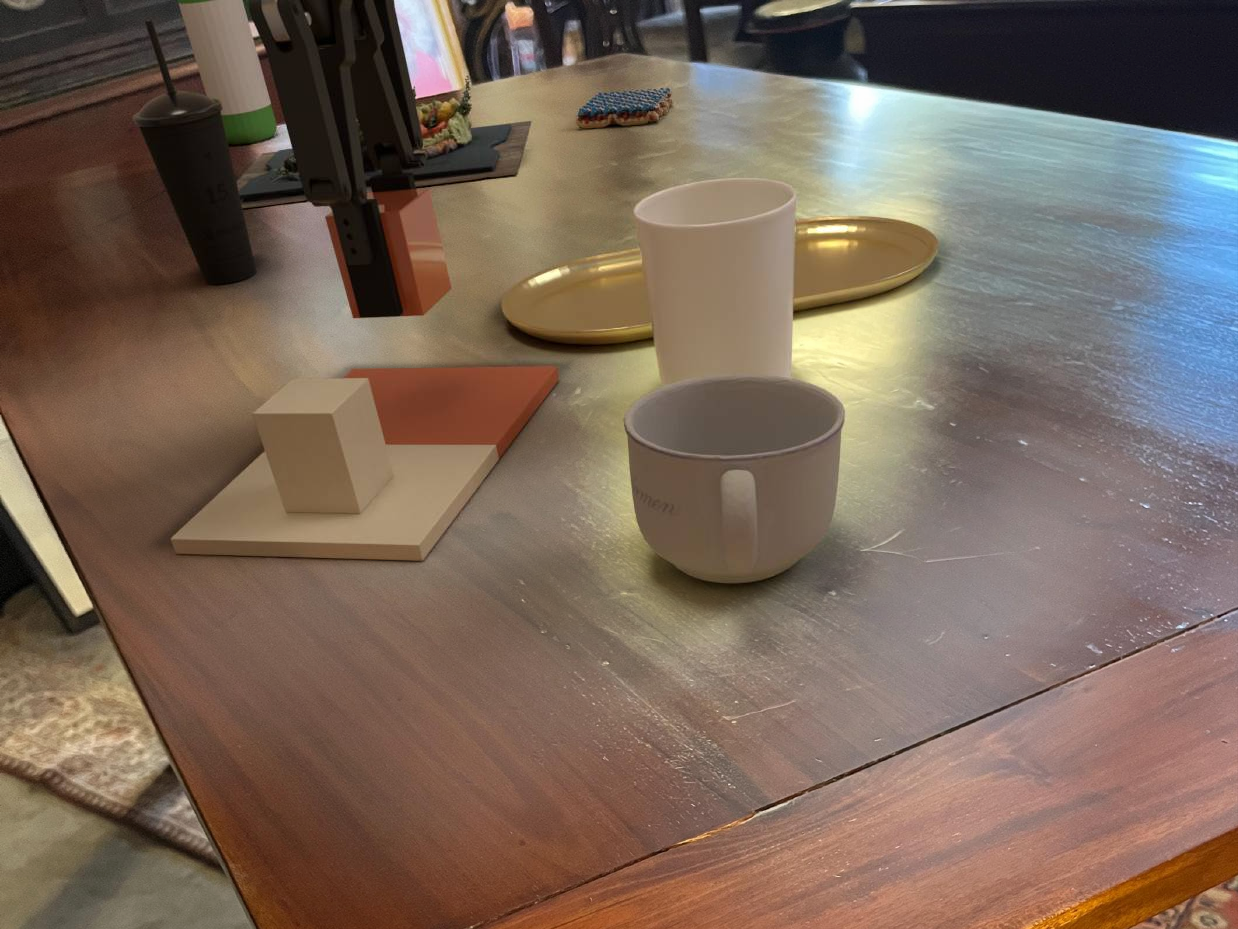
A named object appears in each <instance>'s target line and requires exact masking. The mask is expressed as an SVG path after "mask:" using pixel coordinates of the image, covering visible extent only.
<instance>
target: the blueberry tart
mask: <svg viewBox="0 0 1238 929" xmlns="http://www.w3.org/2000/svg"><path fill="white" fill-rule="evenodd" d="M672 96H673V91H672V89H670V87H666V88H665V90H664V87H660V88H659V89H658V90H657V89H656V88H653V89H652V90H651V88H648V89H647V90H644V89H640V91H639V89H635V90H634V91H631V90H628V91H626V90H623V91H621V92H619V91H615V93H614V91H610V93H607V92H603V93H602V92H598V93H597V94H595V95H594V96H593V97H592V98H591V99H589V100H588V102H585V104H584V105H583V106H582V107H581V108H578V111H577V118H576V119H575V120H574V123H575V124H576V125H577V126H578V127H580V128H583V129H595V128H605V127H608V126H609V125H611V124H612V125H620V126H622V127H623V126H624V127H625V126H636V125H637V126H639V125H645V124H647V123H648V122H659V120H660V117H663V115H666V114H669V110H670V107H673V106H674V99H673V98H672Z"/></svg>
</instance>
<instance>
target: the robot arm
mask: <svg viewBox="0 0 1238 929" xmlns="http://www.w3.org/2000/svg"><path fill="white" fill-rule="evenodd" d="M248 12H249V14H250V17H251V20H252V23H253V24H254V27H255V28H256V32H257V34H258V36H259V38H260V40H261V43H262V45H263V47H264V50H265V52H266V56H267V60H268V63H269V68H270V70H271V74H272V78H273V82H274V85H275V86H274V87H275V90H276V93H277V97H278V101H279V104H280V108H281V113H282V115H283V119H284V123H285V127H286V131H287V134H288V138H289V141H290V145H291V149H293V153H294V157H295V161H296V164H297V168H298V172H299V176H300V179H301V183H302V187H303V190H304V194H305V197H306V199H307V200H306V201H307V202H308V203H311V204H312V206H313V207H315V208H319V207H329V208H330V209H331V212H332V213H333V216H334V220H335V224H336V228H337V232H338V235H339V239H340V243H341V247H342V251H343V254H344V258H345V262H346V266H347V270H348V273H349V277H350V281H351V285H352V289H353V293H354V296H355V300H356V304H357V308H358V312H359V315H360V318H359V319H370V318H369V317H377V318H397V317H398V318H399V316H400V315H401V314H402V313H403V309H402V305H401V301H400V296H399V292H398V288H397V284H396V280H395V276H394V271H393V267H392V263H391V259H390V255H389V251H388V246H387V242H386V238H385V234H384V230H383V226H382V221H381V217H380V212H379V208H378V203H377V199H367V190H366V183H365V175H364V168H363V161H362V154H361V147H360V139H359V132H358V125H357V122H358V124H359V126H360V129H361V132H362V135H363V138H364V140H365V143H366V146H367V149H368V152H369V155H370V158H371V160H372V163H373V166H374V168H375V170H376V171H378V172H380V171H382V175H373V176H372V177H370V178H369V181H370V185H371V189H372V192H382V191H396V190H410V189H417V187H416V186H415V182H414V177H413V173H411V171H410V170H411V169H424V168H425V166H426V156H425V153H414V151H416V150H422V148H423V137H422V132H421V127H420V123H419V118H418V113H417V109H416V107H417V103H416V104H415V99H416V98H415V99H414V95H413V90H412V89H413V84H412V81H411V76H410V72H409V68H408V67H409V66H408V62H407V58H406V53H405V49H404V48H405V47H404V44H403V39H402V35H401V30H400V25H399V20H398V16H397V11H396V6H395V0H248ZM400 317H401V316H400Z"/></svg>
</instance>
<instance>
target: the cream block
mask: <svg viewBox="0 0 1238 929" xmlns="http://www.w3.org/2000/svg"><path fill="white" fill-rule="evenodd" d="M252 417H253V419H254V423H255V426H256V429H257V431H258V435H259V437H260V440H261V443H262V445H263V449H264V451H265V452H266V455H267V458H268V461H269V464H270V467H271V470H272V473H273V476H274V479H275V482H276V485H277V488H278V491H279V494H280V497H281V500H282V503H283V506H284V509H285V512H298V513H353V514H361V513H362V512H363V511H364V509H365V508H366V507H367V506H368V505H369V504H370V503H371V501H372V500H373V499H374V498H375V497H376V496H377V495H378V493H379V492H380V491H381V490H382V489H383V488H384V486H385V485H386V484H387V483H388V482H389V481H390V480H391V478H392V477H393V476H394V475H393V471H392V467H391V463H390V459H389V455H388V452H387V448H386V444H385V440H384V436H383V433H382V429H381V425H380V421H379V417H378V414H377V410H376V406H375V402H374V398H373V395H372V391H371V387H370V383H369V379H368V378H344V377H343V378H342V377H341V378H334V377H333V378H291V380H289V381H288V382H287V383H286V384H285V385H283V386H282V387H281V388H280V389H279V390H278V391H277V392H275V393H274V394H273V395H272V396H270V398H268V399H267V400H266V401H264V403H263V404H262V405H261V406H259V407H258V408H257V409H256V410H255V411H253V412H252Z"/></svg>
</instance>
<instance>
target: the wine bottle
mask: <svg viewBox="0 0 1238 929" xmlns="http://www.w3.org/2000/svg"><path fill="white" fill-rule="evenodd" d="M177 2H178V7H179V9H180V13H181V16H182V19H183V23H184V26H185V29H186V32H187V36H188V39H189V42H190V46H191V49H192V53H193V56H194V59H195V63H196V65H197V66H196V67H197V70H198V72H199V76H200V79H201V82H202V85H203V88H204V92H205V96H207V97H209V98H211V99H217V100H220V101H221V103H222V106H223V109H222V110H221V115H222V120H223V124H224V129H225V133H226V138H227V142H228V145H232V146H240V145H241V146H242V145H249V144H254V143H259V142H263V141H266V140H268V139H270V138H272V137H274V136H275V134H276V133H277V121H276V118H275V114H274V110H273V106H272V102H271V99H270V95H269V91H268V87H267V84H266V80H265V76H264V73H263V69H262V65H261V62H260V58H259V55H258V51H257V48H256V44H255V41H254V37H253V34H252V29H251V26H250V22H249V19H248V15H247V11H246V8H245V4H244V1H243V0H177Z"/></svg>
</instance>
